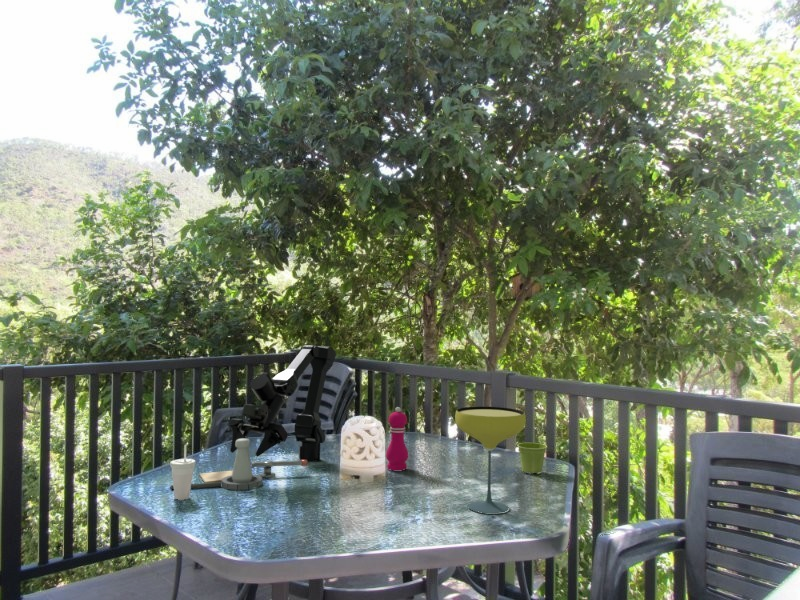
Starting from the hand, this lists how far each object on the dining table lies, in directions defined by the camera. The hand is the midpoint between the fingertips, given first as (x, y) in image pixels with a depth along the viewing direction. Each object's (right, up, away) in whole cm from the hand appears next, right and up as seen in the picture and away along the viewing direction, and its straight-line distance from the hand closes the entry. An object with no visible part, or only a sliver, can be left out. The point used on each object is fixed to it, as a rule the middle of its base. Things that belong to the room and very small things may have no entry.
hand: (243, 453), depth 181 cm
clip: (+8, -6, +10) cm, 15 cm away
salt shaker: (0, -9, -1) cm, 9 cm away
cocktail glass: (+68, -10, -19) cm, 71 cm away
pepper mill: (+44, -10, +21) cm, 50 cm away
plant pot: (+88, -11, +20) cm, 90 cm away
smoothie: (-13, -8, -15) cm, 21 cm away
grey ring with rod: (-7, -8, -3) cm, 11 cm away
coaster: (-9, -9, +6) cm, 14 cm away
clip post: (+5, -9, +9) cm, 14 cm away
